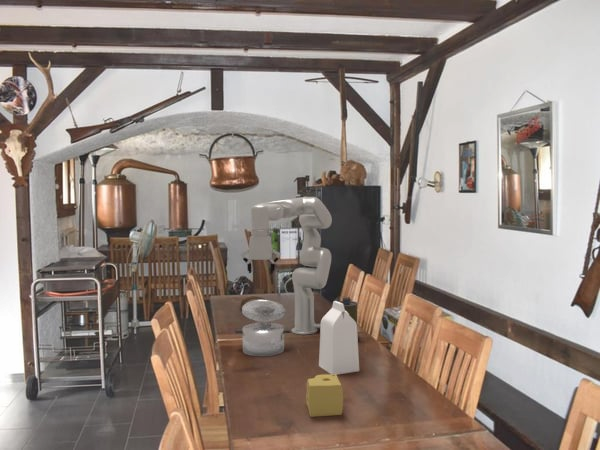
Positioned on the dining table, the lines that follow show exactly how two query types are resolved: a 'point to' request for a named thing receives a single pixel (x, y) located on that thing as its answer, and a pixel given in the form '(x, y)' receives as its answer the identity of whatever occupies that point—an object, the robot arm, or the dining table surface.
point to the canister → (350, 307)
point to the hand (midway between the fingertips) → (261, 272)
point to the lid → (263, 310)
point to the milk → (338, 341)
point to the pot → (263, 339)
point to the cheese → (324, 395)
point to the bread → (250, 300)
